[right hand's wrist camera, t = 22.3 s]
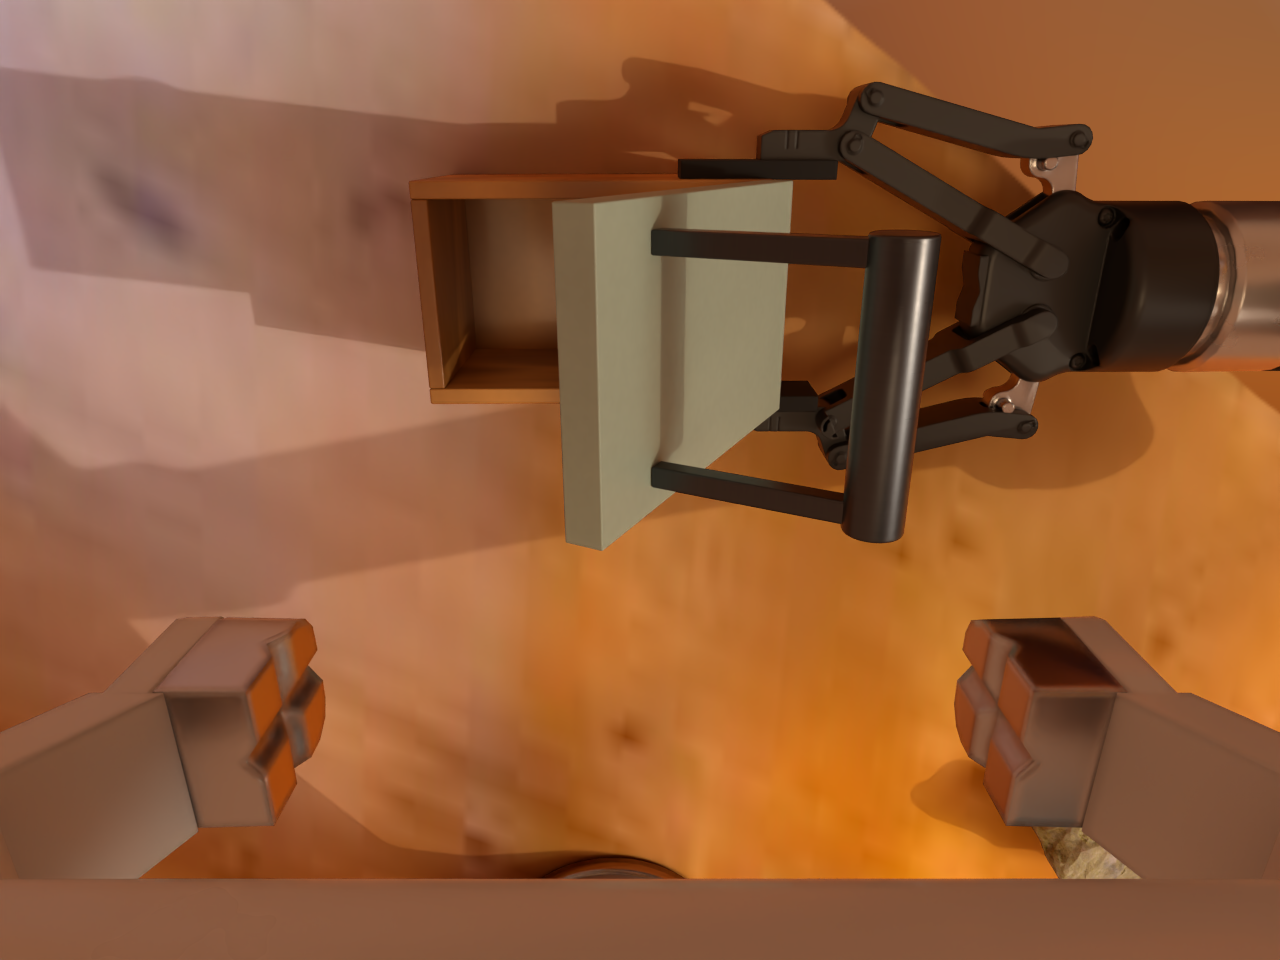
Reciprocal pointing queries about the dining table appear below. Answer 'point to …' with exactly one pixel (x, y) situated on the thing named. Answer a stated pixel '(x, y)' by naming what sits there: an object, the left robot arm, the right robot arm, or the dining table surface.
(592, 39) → the dining table surface
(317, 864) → the dining table surface
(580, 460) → the lid
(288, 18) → the dining table surface
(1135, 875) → the rock
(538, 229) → the chest
